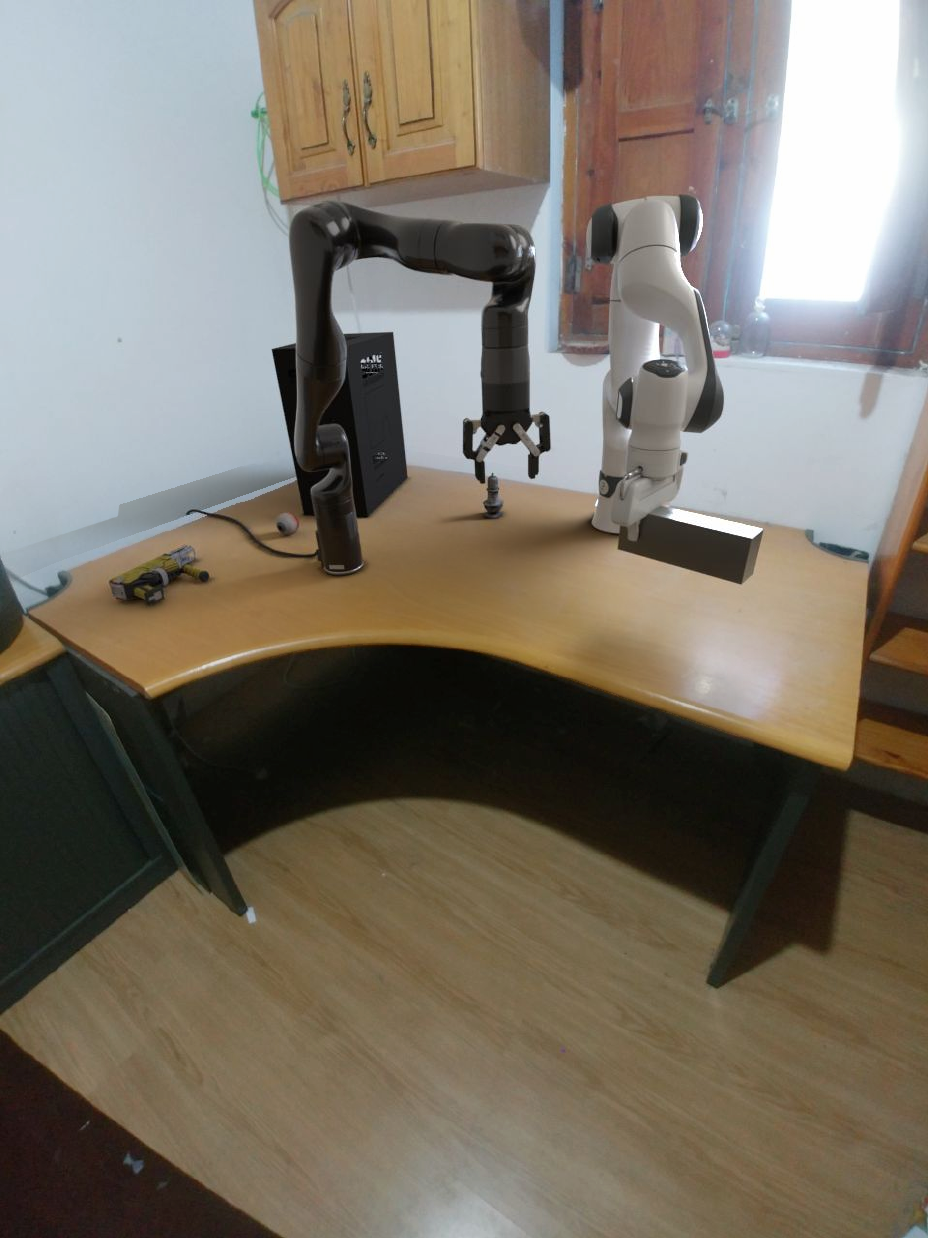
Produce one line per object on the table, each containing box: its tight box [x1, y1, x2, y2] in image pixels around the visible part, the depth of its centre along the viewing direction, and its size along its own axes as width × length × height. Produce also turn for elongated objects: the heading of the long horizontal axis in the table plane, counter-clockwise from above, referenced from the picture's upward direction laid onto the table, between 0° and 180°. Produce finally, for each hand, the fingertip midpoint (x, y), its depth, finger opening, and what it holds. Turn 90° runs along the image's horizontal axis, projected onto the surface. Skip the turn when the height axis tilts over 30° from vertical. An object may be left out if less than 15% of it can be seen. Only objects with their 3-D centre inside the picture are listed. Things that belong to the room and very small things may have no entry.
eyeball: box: [275, 511, 300, 536], centre depth 163 cm, size 6×6×6 cm
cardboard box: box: [271, 331, 409, 518], centre depth 180 cm, size 38×20×45 cm, turn 167°
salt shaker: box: [482, 472, 505, 519], centre depth 167 cm, size 6×6×12 cm
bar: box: [616, 506, 764, 586], centre depth 108 cm, size 24×5×8 cm, turn 48°
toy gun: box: [108, 544, 210, 607], centre depth 141 cm, size 5×24×15 cm
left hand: (507, 480), depth 101 cm, fingers open, 8 cm apart
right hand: (641, 534), depth 113 cm, fingers closed on bar, 5 cm apart
